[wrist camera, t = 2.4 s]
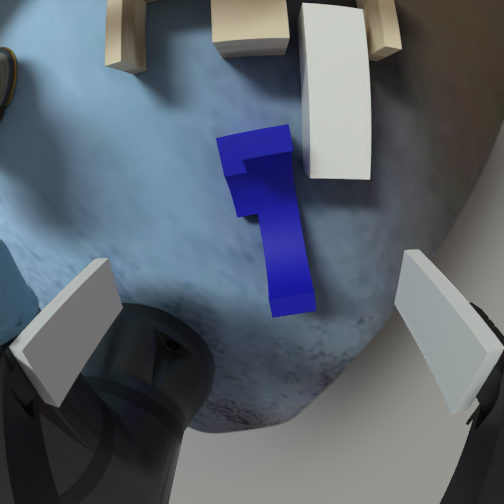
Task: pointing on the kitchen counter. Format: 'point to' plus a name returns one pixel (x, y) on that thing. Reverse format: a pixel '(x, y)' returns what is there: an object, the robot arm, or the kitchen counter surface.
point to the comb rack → (238, 30)
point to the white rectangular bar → (334, 92)
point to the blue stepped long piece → (271, 211)
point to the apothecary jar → (7, 77)
